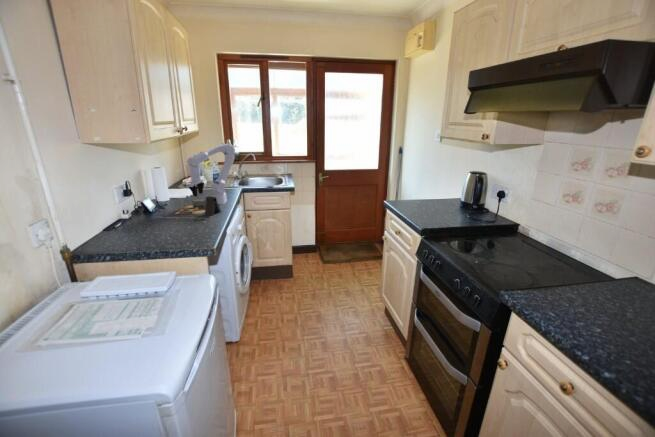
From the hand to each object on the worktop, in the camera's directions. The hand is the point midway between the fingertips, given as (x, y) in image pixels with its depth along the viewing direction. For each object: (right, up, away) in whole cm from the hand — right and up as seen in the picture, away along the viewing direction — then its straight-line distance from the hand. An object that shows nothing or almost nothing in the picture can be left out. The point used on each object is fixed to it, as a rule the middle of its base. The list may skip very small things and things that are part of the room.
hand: (198, 194), depth 203 cm
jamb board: (-1, -11, -2) cm, 11 cm away
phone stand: (+14, -14, -9) cm, 22 cm away
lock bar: (0, -8, +3) cm, 9 cm away
